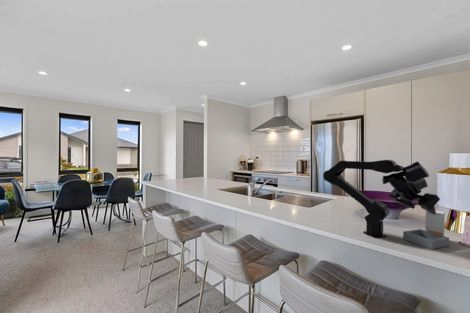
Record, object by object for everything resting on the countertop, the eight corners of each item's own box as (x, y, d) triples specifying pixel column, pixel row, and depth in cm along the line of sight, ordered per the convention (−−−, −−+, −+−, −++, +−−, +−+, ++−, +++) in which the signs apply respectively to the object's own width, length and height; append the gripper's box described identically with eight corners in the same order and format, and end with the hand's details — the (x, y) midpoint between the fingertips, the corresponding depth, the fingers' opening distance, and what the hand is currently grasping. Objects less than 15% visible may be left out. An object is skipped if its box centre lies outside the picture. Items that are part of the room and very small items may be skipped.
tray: (431, 249, 83) (432, 240, 83) (403, 239, 93) (403, 231, 93) (448, 246, 86) (449, 237, 86) (419, 236, 96) (419, 228, 96)
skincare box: (424, 238, 95) (425, 210, 94) (425, 235, 98) (426, 209, 97) (444, 242, 90) (444, 213, 90) (444, 239, 93) (445, 211, 93)
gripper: (436, 174, 83) (460, 202, 85) (395, 170, 102) (416, 193, 103) (417, 194, 83) (442, 223, 84) (379, 186, 101) (400, 210, 103)
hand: (423, 210), depth 93 cm, fingers open, 9 cm apart
